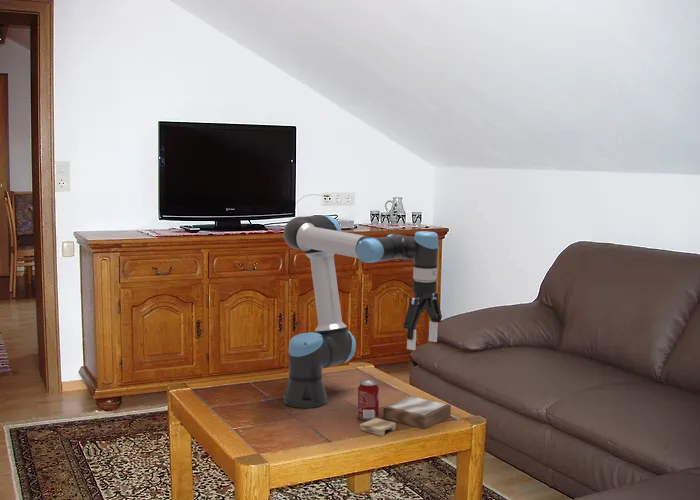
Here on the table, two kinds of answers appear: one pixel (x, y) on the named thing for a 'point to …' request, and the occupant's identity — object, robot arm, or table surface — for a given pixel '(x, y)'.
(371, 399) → the soda can
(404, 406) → the dock
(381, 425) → the plate
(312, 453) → the table surface
